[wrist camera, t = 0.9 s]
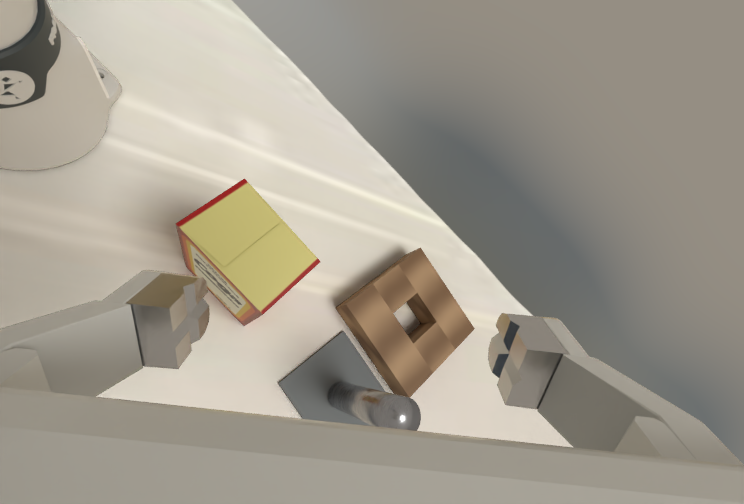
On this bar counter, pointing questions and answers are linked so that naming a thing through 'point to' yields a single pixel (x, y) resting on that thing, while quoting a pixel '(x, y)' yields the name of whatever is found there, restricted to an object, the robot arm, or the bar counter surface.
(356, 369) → the mat
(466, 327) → the hole block
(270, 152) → the bar counter surface
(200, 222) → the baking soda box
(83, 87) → the robot arm
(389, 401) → the pin
